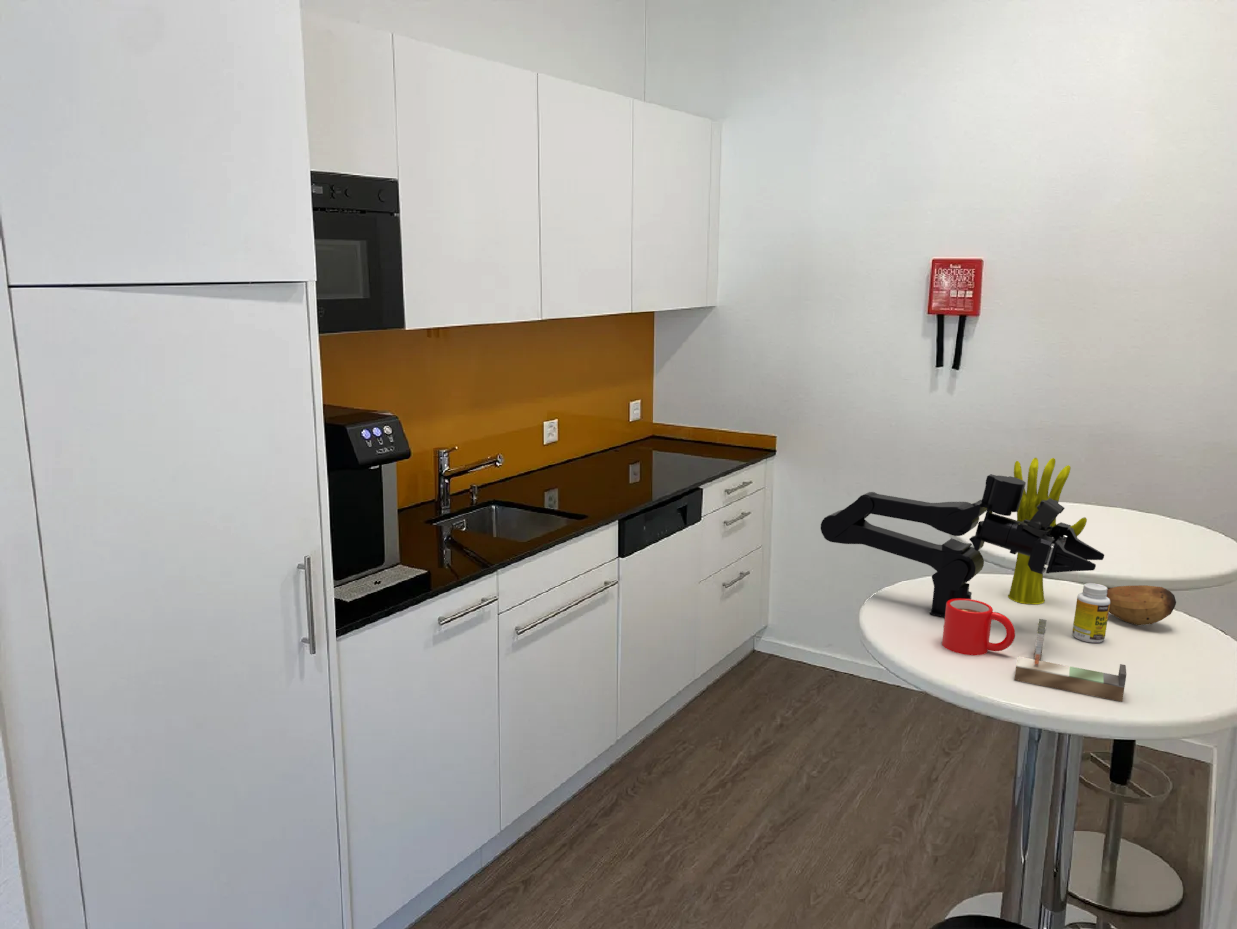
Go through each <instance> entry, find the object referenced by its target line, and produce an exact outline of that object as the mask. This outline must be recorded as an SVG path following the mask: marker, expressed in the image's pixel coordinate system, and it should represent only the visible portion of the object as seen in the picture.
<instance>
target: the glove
mask: <svg viewBox="0 0 1237 929" xmlns="http://www.w3.org/2000/svg"><path fill="white" fill-rule="evenodd" d="M1055 466H1056V458H1054V457H1052V458H1050V459H1049V460H1048V461H1047V463H1046V465H1045V466H1044V468H1043V470H1042V474H1041V476H1040V477H1041V478H1040V481H1039V486H1038V472H1039V459H1038V457H1033V459H1032V460H1031V461H1030V464H1029V468H1028V471H1027V472H1028V474H1027V482H1026V485H1027V486H1026V488H1024V491H1023V495H1022V499H1021V502H1020V506H1019V509H1018V512H1016V520H1017V521H1020V522H1022V521H1023V520H1025V519H1027V520H1031V519H1032V518H1033V516H1034V515H1035V514H1036V512H1037V511H1038V509H1037V506H1038V505H1039V504H1040V503H1041V501H1042V500H1048V499H1049V498H1051V499H1052V500H1057V501H1058V503H1059V501H1060V498H1061V494H1062V492H1063V489H1064V487H1065V484H1066V482H1067V481H1068V478H1069V475H1070V473H1071V469H1072V468H1071V465H1070V464H1069V465H1065V466H1064V467H1063V468H1062V469H1061V470H1060V471H1059V473H1058V474H1057V476H1056V478H1055V479H1054V482H1053V484H1052V486H1051V489H1050V492H1049V488H1050V483H1051V479H1052V475H1053V472H1054V469H1055ZM1013 477H1015V478H1018V479H1021V480H1023V481H1024V479H1023V470H1022V466H1021V463H1020V461H1019V460H1016V461H1015V462H1014V465H1013ZM1087 521H1088V519H1087V517H1085V516H1084V517H1081V518H1080V519H1079V520H1078V521H1076V522H1075V523H1073V524H1072V525H1071V528H1073V529H1074V533H1075V535H1076V536H1077V537H1079V536H1080V535H1081V533H1082V532H1083V530H1084V529H1085V527H1086V525H1087ZM1056 524H1057V517H1056V518H1055V519H1054V521H1053V522H1052V523H1051V524H1050V526H1052V527H1053V526H1054V525H1056ZM1071 528H1070V529H1071ZM1029 558H1030V556H1027V555H1024V554H1021V553H1016V561H1015V565H1014V566H1015V567H1014V571H1013V572H1014V573H1013V576H1012V581H1011V585H1010V590H1009V593H1008V595H1007V598H1009V599H1010V600H1011V601H1014V602H1015V603H1017V604H1023V605H1037V606H1038V605H1042V604H1043V603H1045V601H1046V600H1045V596H1044V576H1043V575H1044V573H1043V574H1039V573H1036V572H1033V571H1031V569H1030V568H1029V566H1028V562H1029Z"/></svg>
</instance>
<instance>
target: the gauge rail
mask: <svg viewBox="0 0 1237 929" xmlns="http://www.w3.org/2000/svg"><path fill="white" fill-rule="evenodd" d="M1015 664H1016V666H1015V671H1014V681H1017V682H1023V683H1027V684H1032V685H1037V686H1040V687H1041V686H1043V687H1047V688H1052V689H1056V690H1063V691H1067V692H1072V693H1076V694H1081V695H1087V696H1092V697H1097V698H1101V699H1107V700H1111V701H1116V702H1123V700H1124V694H1125V687H1126V682H1127V666H1126V664H1123V663H1120V664H1119V668H1118V669H1119V670H1118V675H1117V674H1113V673H1107V672H1102V671H1096V670H1091V669H1086V668H1083V667H1082V668H1081V667H1075V666H1070V665H1064V664H1060V663H1056V662H1050V661H1049V662H1048V661H1043V660H1041V661H1040V660H1039V664H1035V660H1034V658H1028V657H1023V656H1017V659H1016V663H1015Z"/></svg>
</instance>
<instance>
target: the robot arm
mask: <svg viewBox="0 0 1237 929" xmlns="http://www.w3.org/2000/svg"><path fill="white" fill-rule="evenodd" d="M1026 485H1027V482H1026V481H1025V480H1024V479H1023V480H1021V479H1018V478H1015V477H1014V476H1012V475H1010V476H1006V475H997V474H989V475H987V476H986V480H985V487H984V491H983V495H982V498H981V499H978V501H976V502H973V503H971V502H968V501H945V502H928V501H923V500H915V499H909V498H904V497H897V496H894V495H893V496H892V495H886V494H880V493H877V492H874V491H868V492H867V493H864V494H862V495H860V496H859V497H858V498H857V499H856V500H855V501H853V502H852V503H851V504H849V505H848V506H846V507H845V508H843V509H841V510H838V511H835V512H833V513H831V514H829V515H827V516H825V517H824V518H823V519H822V520H821V522H820V532H821V534H822V536H823V538H824V540H826V541H827V542H830V543H836V544H842V545H843V544H844V545H863V546H867V547H870V548H873V549H876V550H879V551H883V552H887V553H889V554H893V555H896V556H899V557H902V558H904V559H905V558H906V559H908V560H911V561H915V562H918V563H921V564H924V565H928V566H929V567H931V568H932V569H934V571H936V572H934V573H933V574H931V580H932V584H933V592H932V593H933V594H932V602H931V603H932V604H931V609H930V611H929V615H931V616H937V617H943V618H945V611H946V603H947V601H948V600H951V599H956V598H963V599H972V594H973V592H972V591H970V583H968V582H970V581H971V580H972V579H973V578H974V577H976V576H977V575H978V574H979V573H980V572H981V571H982V570H983V568H984V565H985V564H984V563H985V560H984V557H983V555H982V553H981V552H980V550H981V549H982V548H983V547H984V545H985V543H987V544H990V545H993V546H997V547H1000V548H1003V549H1006V550H1009V554H1012V555H1017V553H1021V554H1024V555H1027V556H1030V558H1029V562H1028V566H1029V568H1030V569H1031V571H1033V572H1036V573H1039V574H1043V575H1044V573H1046V574H1052V573H1067V572H1069V573H1070V572H1084V571H1085V572H1086V571H1090V572H1091V571H1095V570H1096V566H1097V565H1096V563H1094V562H1092V561H1103V560H1104V558H1105V554H1104V553H1103V552H1102V551H1099V550H1097V548H1094V547H1092V546H1091V545H1089V544H1088V543H1086V542H1084V541H1082V540H1081V539H1079V538H1078V536H1076V535H1075V533H1074V529H1073V528H1071V526H1072V525H1071V524H1069V523H1068V524H1067V523H1064V522H1061V521H1060V522H1058V523H1056V525H1054V526H1053V527H1052V526H1050V524H1051V523H1052V522H1053V521H1054V519H1055V518H1056V519H1057V517H1058V516H1059V514H1062V513H1063V512H1064V510H1065V507H1064V506H1062V505H1061V504H1060V503H1059V502H1058V501H1057V500H1052V499H1051V498H1049V499H1048V500H1042V501H1041V503H1040V504H1039V505H1038V506H1037V509H1038V511H1037V512H1036V514H1035V515H1034V516H1033V518H1032V519H1031V520H1027V519H1025V520H1023V521H1022V522H1020V521H1017V519H1013V518H1010V516H1011V515H1012V513H1017V512H1018V509H1019V506H1020V502H1021V499H1022V495H1023V491H1024V488H1025V487H1026ZM1025 489H1026V488H1025ZM871 514H872V515H876V516H881V517H887V518H893V519H898V520H902V521H903V520H904V521H909V522H915V523H921V524H925V525H927V526H930V527H932V528H934V529H935V530H938V532H942V533H944V534H948V535H951V536H954V537H961V536H965V535H966V534H967V533H969V532H970V531H972V530H973V529H974V528H976V531H975V534H974V535H972V536H971V537H970V538H969V541H970V543H965V542H962V541H959V540H958V539H955V538H950V539H948V540H947V541H946V542H944V543H942V544H938V543H933V542H930V541H928V540H927V541H926V540H923V539H919V538H916V537H913V536H910V535H907V534H904V533H900V532H896V531H893V530H890V529H887V528H883V527H880V526H877V525H874V524H872V523H870V522H869V521H867V520H866V519H867V518H868V517H869V516H870V515H871ZM984 514H985V516H984V519H983V520H980V516H982V515H984ZM1007 516H1008V517H1007ZM1070 528H1071V529H1070ZM1046 566H1047V568H1046Z"/></svg>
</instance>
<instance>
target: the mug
mask: <svg viewBox="0 0 1237 929" xmlns="http://www.w3.org/2000/svg"><path fill="white" fill-rule="evenodd" d="M992 621H996V622H998V623H1000V624H1001V625H1002V626H1003V627H1004V629H1005V631H1006V633H1005V638H1003V640H1002V641H1000V642H997V643H996V642H990V639H991V638H990V636H991V627H992ZM942 630H943V631H942V641H941V645H942V646H943V648H945V649H946V650H948V651H950V652H952V653H956V654H961V655H965V656H982V655H985V654H988V652H1001V651H1003V650H1006V649H1008V648H1009V647H1010V646H1011V645H1012V644H1013V643H1014V641H1015V637H1016V629H1015V626H1014V625H1013V623H1012V621H1011V620H1010V619H1009V618H1008V617H1007V616H1006V615H1004V614H1002V613H999V612H996V611H994V608H993V607H992V606H991V605H990V604H988V603H986V602H983V601H980V600H977V599H972V598H971V599H963V598H956V599H951V600H948V601H947V603H946V611H945V617H944V623H943V629H942Z"/></svg>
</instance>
